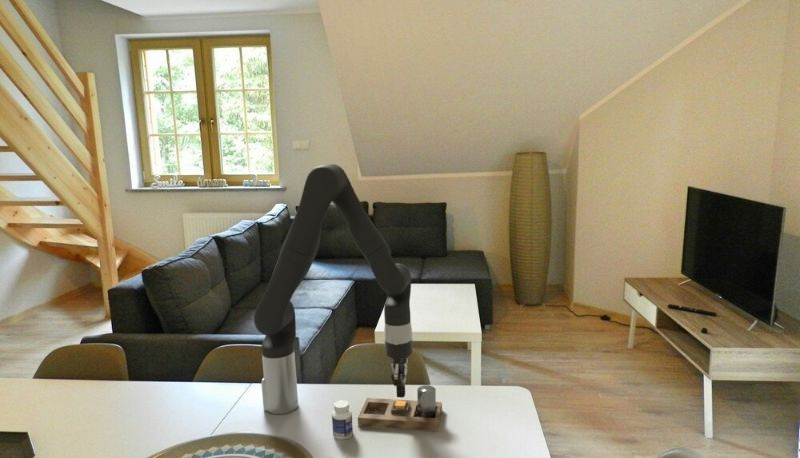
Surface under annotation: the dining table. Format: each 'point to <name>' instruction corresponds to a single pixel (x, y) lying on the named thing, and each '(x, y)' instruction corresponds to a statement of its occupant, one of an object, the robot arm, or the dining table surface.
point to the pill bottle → (342, 420)
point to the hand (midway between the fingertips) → (401, 396)
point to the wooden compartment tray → (397, 415)
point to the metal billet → (426, 401)
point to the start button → (400, 404)
